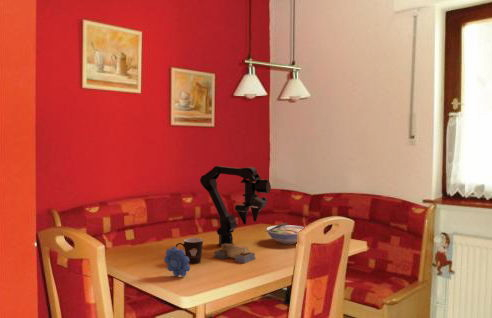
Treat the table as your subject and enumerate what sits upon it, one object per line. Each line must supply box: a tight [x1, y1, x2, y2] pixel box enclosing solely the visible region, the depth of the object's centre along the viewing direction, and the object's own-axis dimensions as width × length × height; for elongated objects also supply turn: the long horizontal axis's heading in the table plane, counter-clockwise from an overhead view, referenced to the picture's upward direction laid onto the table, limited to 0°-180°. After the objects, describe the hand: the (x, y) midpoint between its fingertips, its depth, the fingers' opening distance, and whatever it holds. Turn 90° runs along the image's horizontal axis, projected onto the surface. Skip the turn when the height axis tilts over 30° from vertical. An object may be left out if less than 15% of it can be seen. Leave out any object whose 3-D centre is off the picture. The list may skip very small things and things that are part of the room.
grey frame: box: [213, 248, 256, 264], centre depth 209 cm, size 17×9×3 cm, turn 55°
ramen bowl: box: [265, 222, 305, 245], centre depth 240 cm, size 25×23×8 cm
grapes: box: [163, 246, 191, 277], centre depth 181 cm, size 12×7×12 cm, turn 70°
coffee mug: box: [175, 237, 204, 265], centre depth 203 cm, size 12×9×10 cm
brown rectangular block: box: [220, 243, 250, 259], centre depth 209 cm, size 13×4×5 cm, turn 58°
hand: (250, 222), depth 228 cm, fingers open, 9 cm apart
